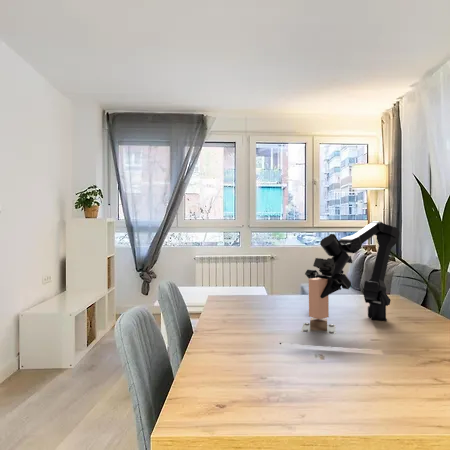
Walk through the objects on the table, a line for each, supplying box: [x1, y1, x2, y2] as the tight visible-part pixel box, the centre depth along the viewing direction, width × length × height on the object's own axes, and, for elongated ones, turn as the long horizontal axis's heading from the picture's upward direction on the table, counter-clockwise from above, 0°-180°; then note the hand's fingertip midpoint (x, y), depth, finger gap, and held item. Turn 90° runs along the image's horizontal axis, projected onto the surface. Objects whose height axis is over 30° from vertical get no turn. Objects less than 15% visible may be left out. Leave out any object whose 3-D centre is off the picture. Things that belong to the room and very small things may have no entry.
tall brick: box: [308, 278, 330, 319], centre depth 146 cm, size 5×5×14 cm
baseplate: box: [300, 322, 337, 335], centre depth 146 cm, size 12×12×2 cm
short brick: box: [309, 317, 328, 331], centre depth 146 cm, size 6×6×3 cm
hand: (315, 296), depth 145 cm, fingers closed on tall brick, 5 cm apart
